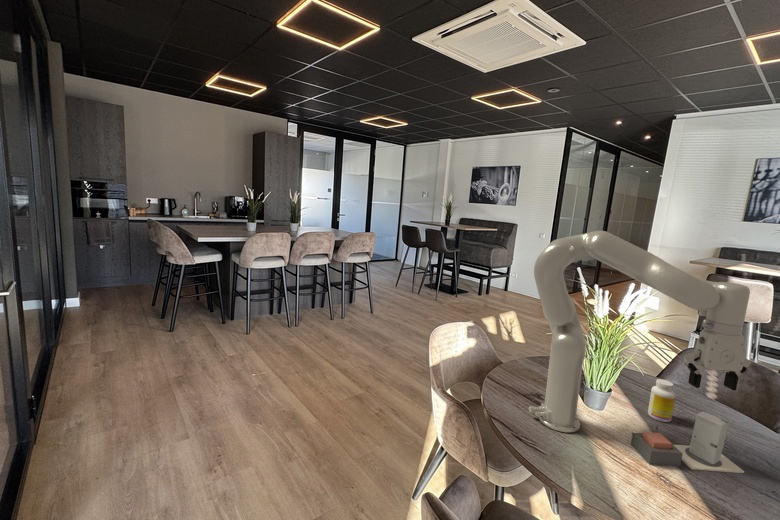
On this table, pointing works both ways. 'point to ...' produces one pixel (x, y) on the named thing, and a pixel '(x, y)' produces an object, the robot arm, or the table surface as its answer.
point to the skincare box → (708, 437)
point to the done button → (656, 440)
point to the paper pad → (701, 464)
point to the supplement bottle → (662, 401)
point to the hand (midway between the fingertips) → (711, 386)
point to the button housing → (656, 452)
